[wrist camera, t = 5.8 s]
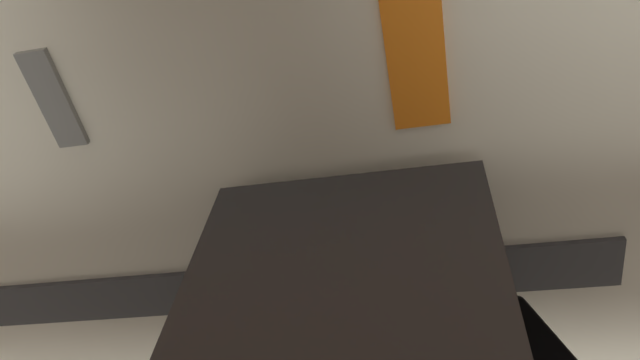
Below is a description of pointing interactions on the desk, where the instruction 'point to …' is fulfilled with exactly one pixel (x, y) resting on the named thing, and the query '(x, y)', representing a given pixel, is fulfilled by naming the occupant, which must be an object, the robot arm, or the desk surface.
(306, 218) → the block
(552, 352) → the robot arm
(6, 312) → the block
